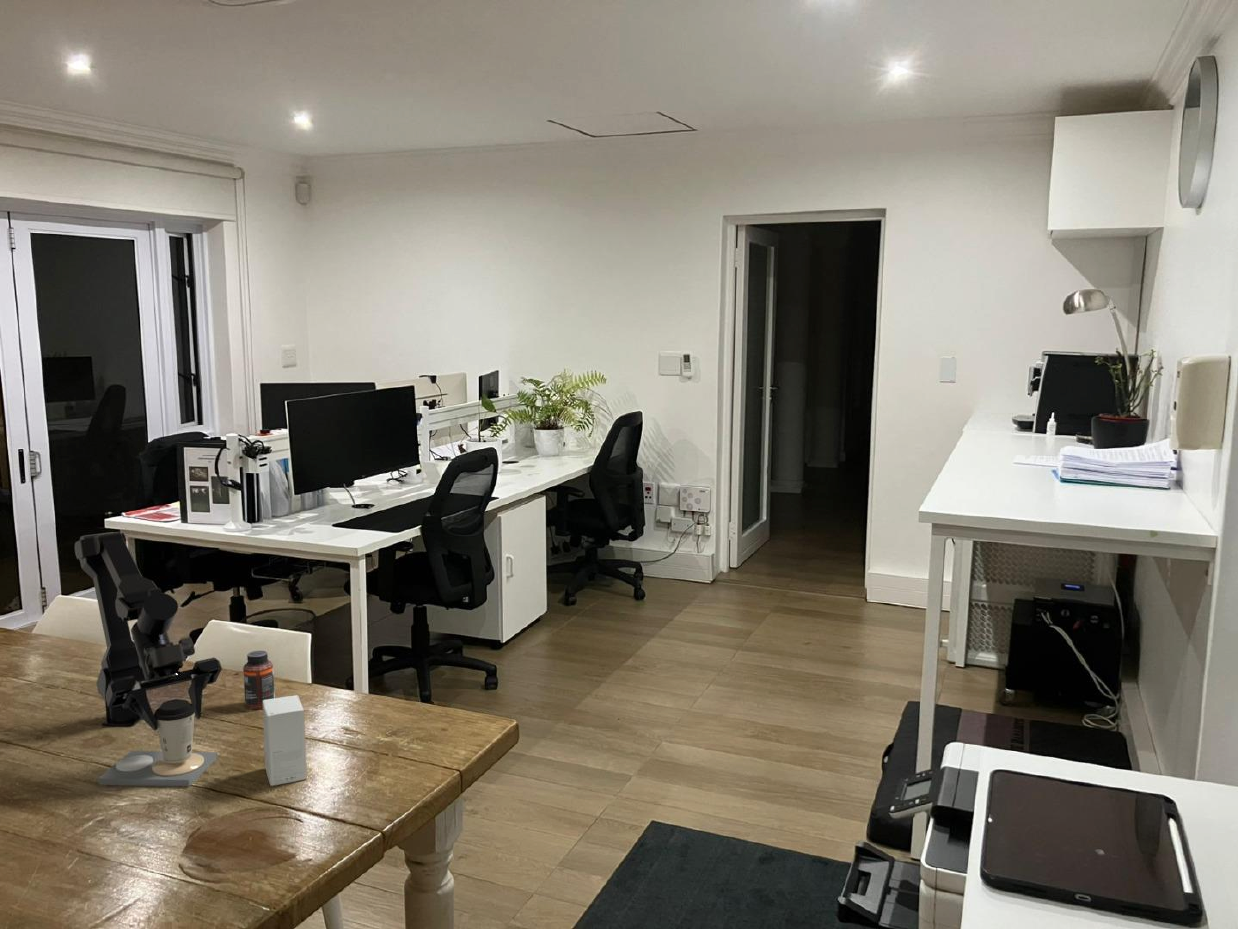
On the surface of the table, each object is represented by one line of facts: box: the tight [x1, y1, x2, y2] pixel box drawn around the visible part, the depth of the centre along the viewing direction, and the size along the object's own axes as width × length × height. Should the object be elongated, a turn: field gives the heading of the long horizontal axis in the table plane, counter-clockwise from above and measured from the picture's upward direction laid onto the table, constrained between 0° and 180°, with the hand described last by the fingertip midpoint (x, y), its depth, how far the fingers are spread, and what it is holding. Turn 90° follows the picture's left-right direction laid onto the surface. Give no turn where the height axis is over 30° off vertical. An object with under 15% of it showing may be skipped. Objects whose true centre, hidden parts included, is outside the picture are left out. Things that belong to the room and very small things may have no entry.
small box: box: [262, 694, 308, 787], centre depth 173 cm, size 8×6×13 cm
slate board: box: [98, 750, 218, 788], centre depth 174 cm, size 16×11×2 cm
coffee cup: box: [153, 698, 196, 763], centre depth 173 cm, size 7×7×10 cm
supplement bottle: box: [242, 650, 276, 710], centre depth 204 cm, size 6×6×11 cm
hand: (178, 723), depth 172 cm, fingers open, 7 cm apart
